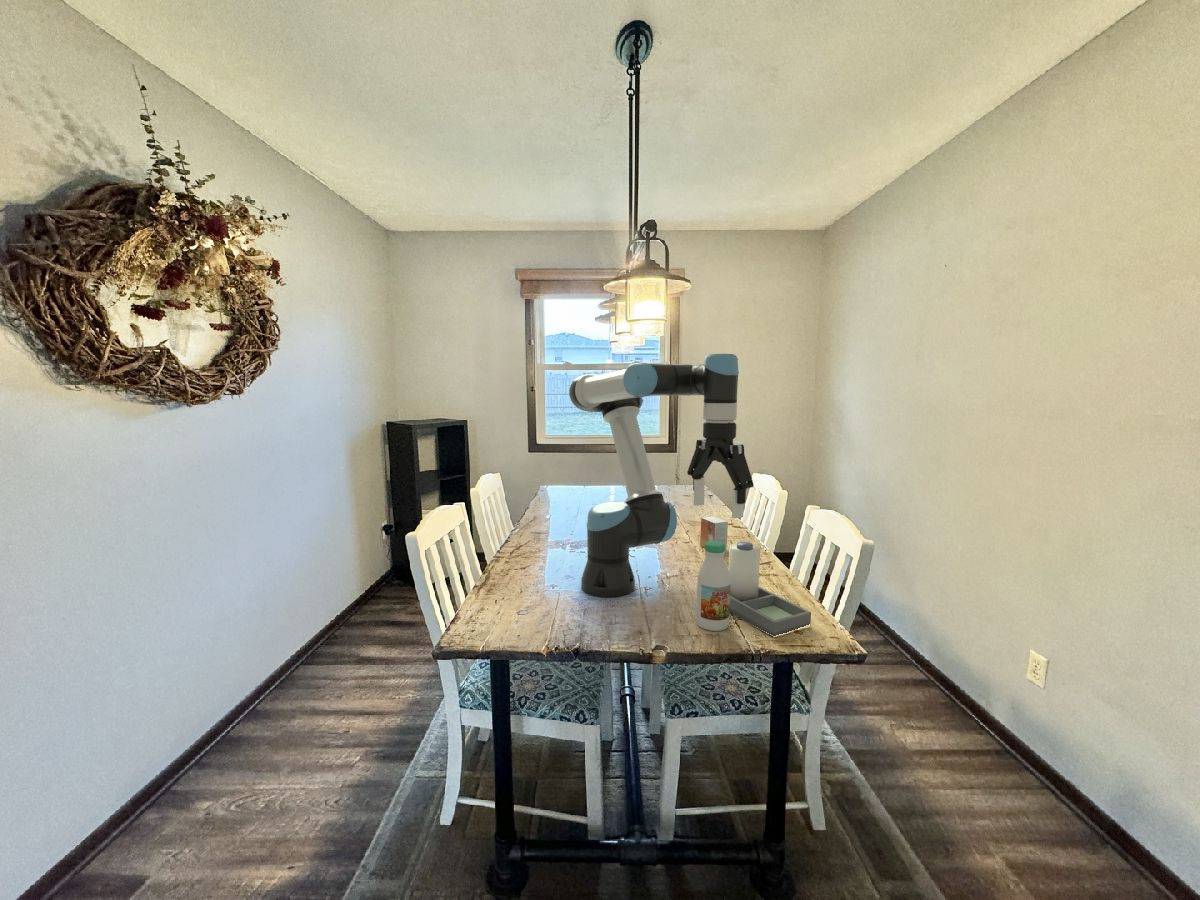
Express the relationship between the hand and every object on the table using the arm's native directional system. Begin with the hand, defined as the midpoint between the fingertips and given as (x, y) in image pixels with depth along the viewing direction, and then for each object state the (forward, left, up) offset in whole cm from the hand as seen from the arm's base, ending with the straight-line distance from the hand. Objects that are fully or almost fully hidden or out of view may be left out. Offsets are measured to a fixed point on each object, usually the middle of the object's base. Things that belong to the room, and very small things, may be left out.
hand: (717, 511), depth 119 cm
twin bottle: (+12, +3, -26) cm, 28 cm away
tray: (+12, -2, -27) cm, 30 cm away
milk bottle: (-2, -2, -27) cm, 27 cm away
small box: (+34, +42, -27) cm, 60 cm away
